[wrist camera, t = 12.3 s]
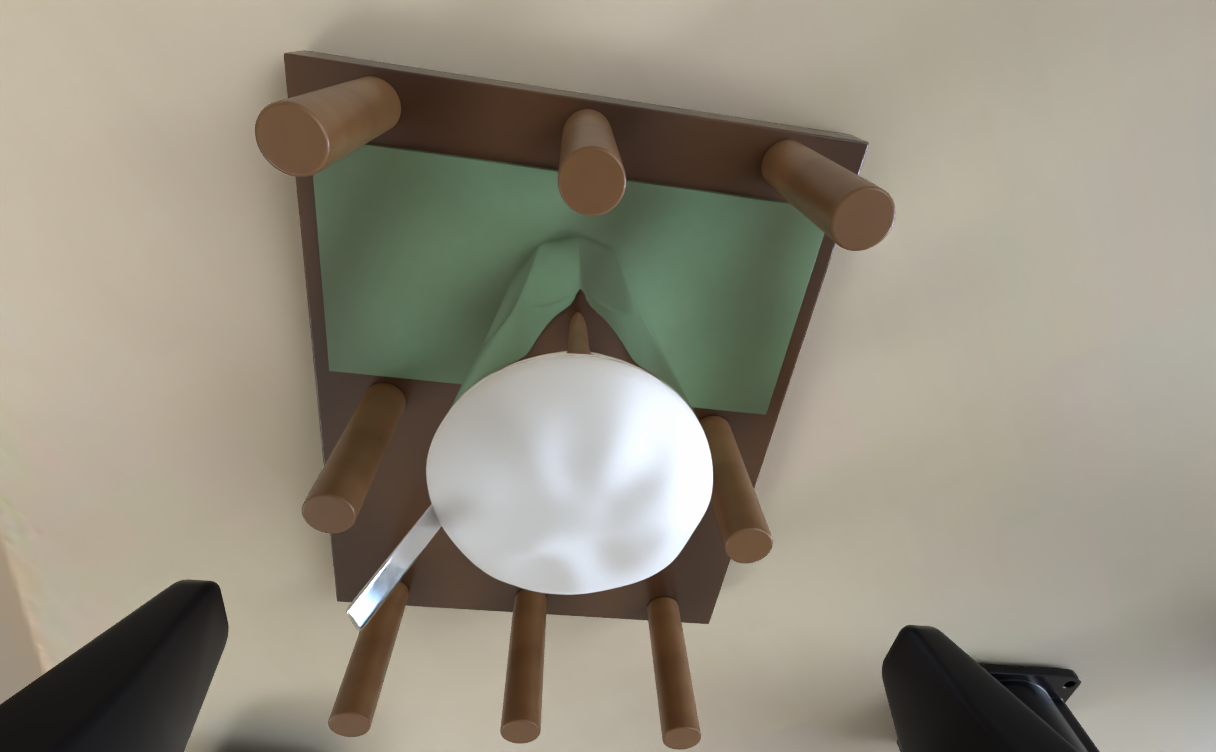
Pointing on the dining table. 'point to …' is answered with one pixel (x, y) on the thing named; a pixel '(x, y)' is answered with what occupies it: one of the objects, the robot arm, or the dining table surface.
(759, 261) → the plate rack
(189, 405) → the dining table surface
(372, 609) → the milkshake
